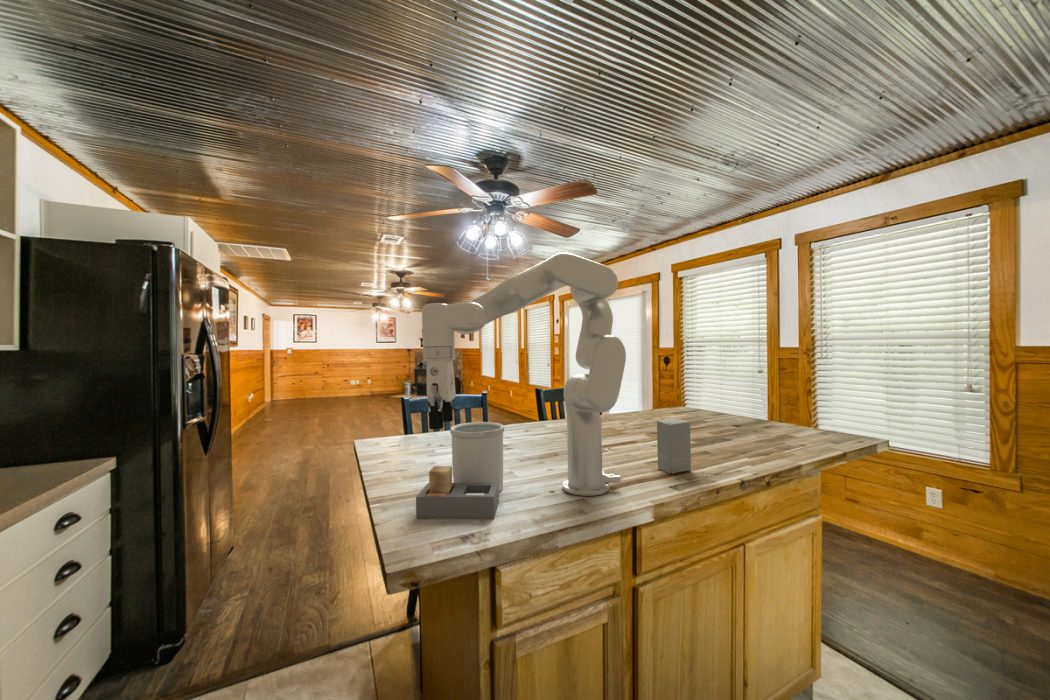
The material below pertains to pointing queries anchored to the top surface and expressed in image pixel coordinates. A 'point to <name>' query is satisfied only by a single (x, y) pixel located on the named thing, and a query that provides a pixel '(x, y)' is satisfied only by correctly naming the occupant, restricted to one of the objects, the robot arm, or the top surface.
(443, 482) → the plug
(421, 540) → the top surface
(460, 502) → the socket block
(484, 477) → the utensil holder
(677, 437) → the skincare box
